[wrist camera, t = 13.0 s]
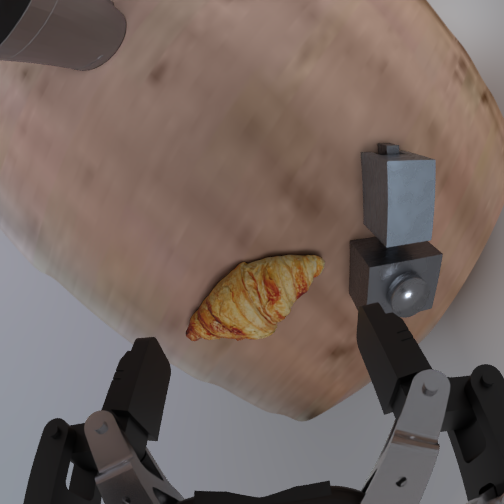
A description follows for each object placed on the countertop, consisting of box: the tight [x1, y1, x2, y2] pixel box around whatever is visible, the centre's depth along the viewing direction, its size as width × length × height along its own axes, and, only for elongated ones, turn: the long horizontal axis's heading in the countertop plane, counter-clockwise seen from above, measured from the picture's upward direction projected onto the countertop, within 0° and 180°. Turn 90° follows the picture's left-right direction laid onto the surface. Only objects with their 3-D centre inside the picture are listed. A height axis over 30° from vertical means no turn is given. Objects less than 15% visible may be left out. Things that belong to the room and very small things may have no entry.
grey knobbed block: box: [349, 143, 443, 317], centre depth 29 cm, size 20×10×9 cm, turn 9°
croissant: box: [186, 255, 325, 341], centre depth 35 cm, size 21×10×8 cm, turn 125°
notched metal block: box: [361, 151, 435, 247], centre depth 28 cm, size 9×6×7 cm, turn 9°
